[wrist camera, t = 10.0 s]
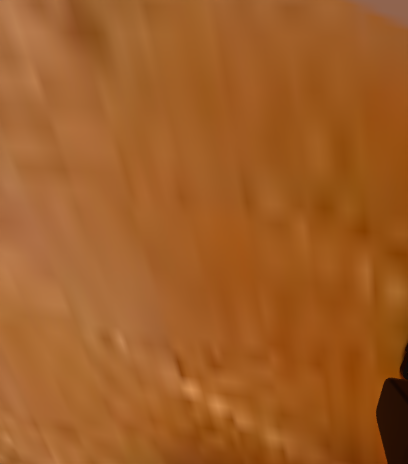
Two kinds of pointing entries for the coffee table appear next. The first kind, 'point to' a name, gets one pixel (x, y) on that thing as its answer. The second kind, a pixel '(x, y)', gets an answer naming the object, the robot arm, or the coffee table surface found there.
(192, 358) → the coffee table surface
